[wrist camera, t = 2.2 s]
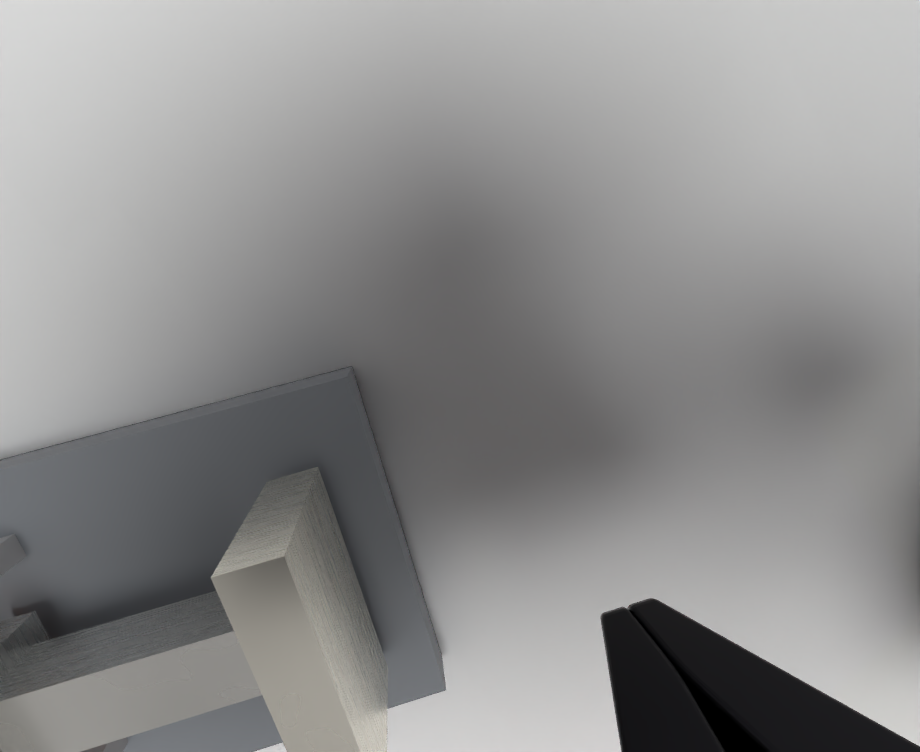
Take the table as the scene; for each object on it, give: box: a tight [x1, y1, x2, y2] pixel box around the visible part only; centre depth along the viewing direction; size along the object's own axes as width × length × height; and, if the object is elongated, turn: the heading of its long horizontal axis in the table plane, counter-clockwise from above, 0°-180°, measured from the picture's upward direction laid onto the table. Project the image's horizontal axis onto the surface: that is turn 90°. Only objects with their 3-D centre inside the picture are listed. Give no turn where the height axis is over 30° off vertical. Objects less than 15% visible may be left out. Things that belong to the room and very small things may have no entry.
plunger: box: [0, 467, 388, 752], centre depth 8 cm, size 7×5×3 cm
